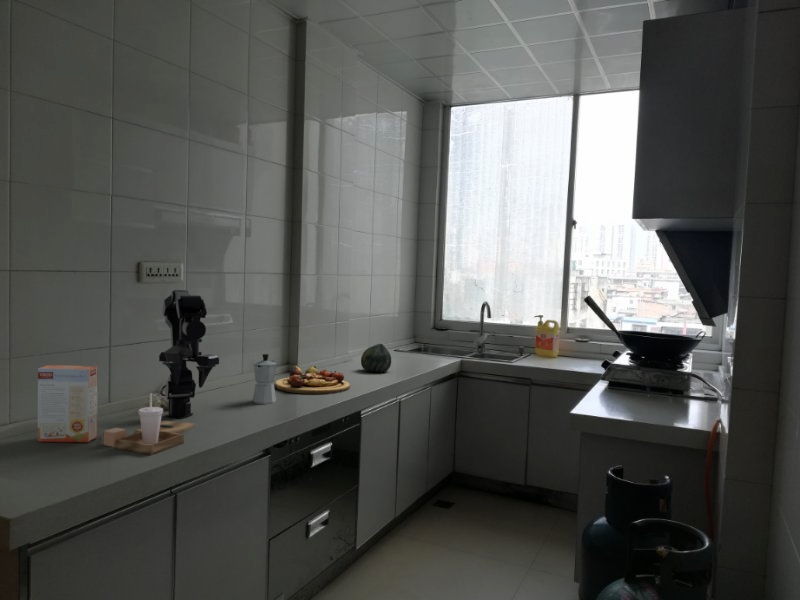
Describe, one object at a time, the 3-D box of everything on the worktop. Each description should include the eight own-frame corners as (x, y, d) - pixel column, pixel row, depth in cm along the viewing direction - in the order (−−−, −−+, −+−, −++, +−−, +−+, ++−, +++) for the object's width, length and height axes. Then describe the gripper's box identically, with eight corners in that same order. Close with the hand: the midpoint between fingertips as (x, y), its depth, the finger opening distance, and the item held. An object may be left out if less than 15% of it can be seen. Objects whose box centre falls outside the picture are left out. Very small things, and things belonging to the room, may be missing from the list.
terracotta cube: (116, 427, 172) (116, 441, 172) (103, 430, 168) (103, 444, 169) (126, 429, 170) (126, 443, 170) (113, 432, 166) (113, 447, 167)
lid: (135, 432, 181) (135, 428, 181) (159, 422, 193) (159, 418, 193) (173, 436, 178) (173, 431, 178) (195, 426, 191) (195, 421, 191)
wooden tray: (115, 448, 165) (115, 439, 165) (149, 437, 177) (149, 428, 177) (151, 455, 161) (151, 445, 161) (183, 443, 172) (183, 434, 172)
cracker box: (97, 437, 175) (98, 365, 174) (87, 443, 169) (88, 369, 168) (48, 436, 175) (48, 363, 173) (36, 442, 169) (36, 367, 167)
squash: (357, 357, 310) (363, 338, 300) (385, 358, 314) (392, 339, 305) (361, 380, 300) (367, 360, 290) (390, 380, 305) (397, 361, 295)
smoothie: (161, 439, 173) (162, 391, 173) (163, 445, 168) (164, 395, 167) (137, 441, 171) (137, 392, 170) (138, 448, 165) (139, 397, 164)
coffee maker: (268, 406, 221) (269, 357, 220) (245, 404, 223) (247, 355, 222) (284, 397, 236) (285, 351, 235) (263, 396, 237) (264, 350, 236)
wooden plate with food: (311, 399, 237) (312, 378, 236) (258, 386, 256) (259, 366, 256) (365, 389, 262) (366, 370, 262) (313, 378, 282) (314, 361, 281)
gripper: (146, 336, 183) (145, 387, 184) (196, 340, 177) (195, 393, 177) (172, 332, 194) (171, 381, 194) (220, 337, 187) (219, 387, 188)
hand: (188, 385), depth 188 cm, fingers open, 9 cm apart
